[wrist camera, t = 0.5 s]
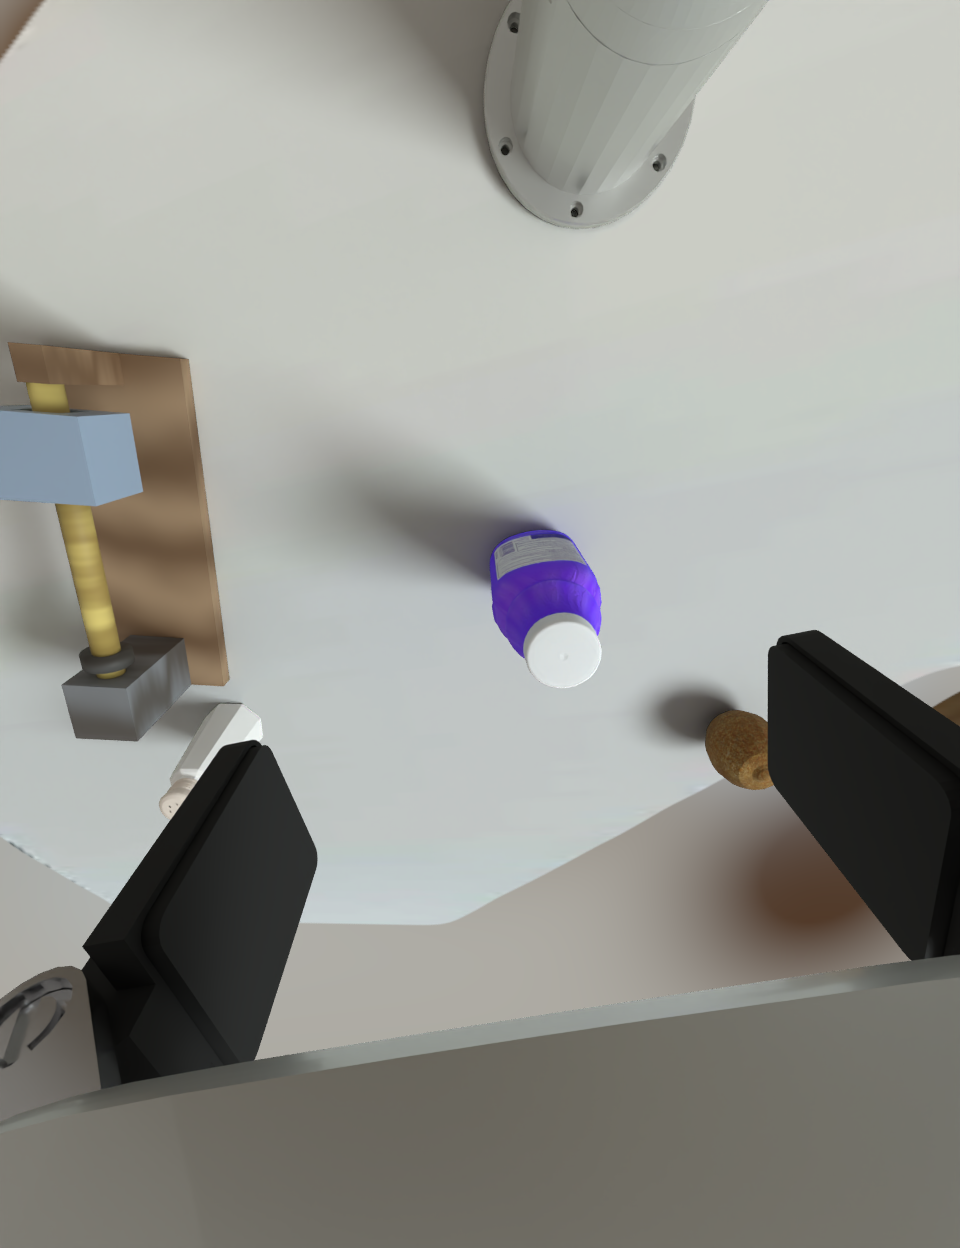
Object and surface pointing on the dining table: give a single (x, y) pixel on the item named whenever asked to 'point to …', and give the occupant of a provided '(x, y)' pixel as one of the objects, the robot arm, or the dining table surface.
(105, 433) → the sleeve
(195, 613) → the rod stand
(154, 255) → the dining table surface
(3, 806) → the dining table surface
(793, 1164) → the robot arm
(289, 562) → the dining table surface
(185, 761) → the pepper shaker
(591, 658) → the bottle
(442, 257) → the dining table surface
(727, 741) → the fruit
